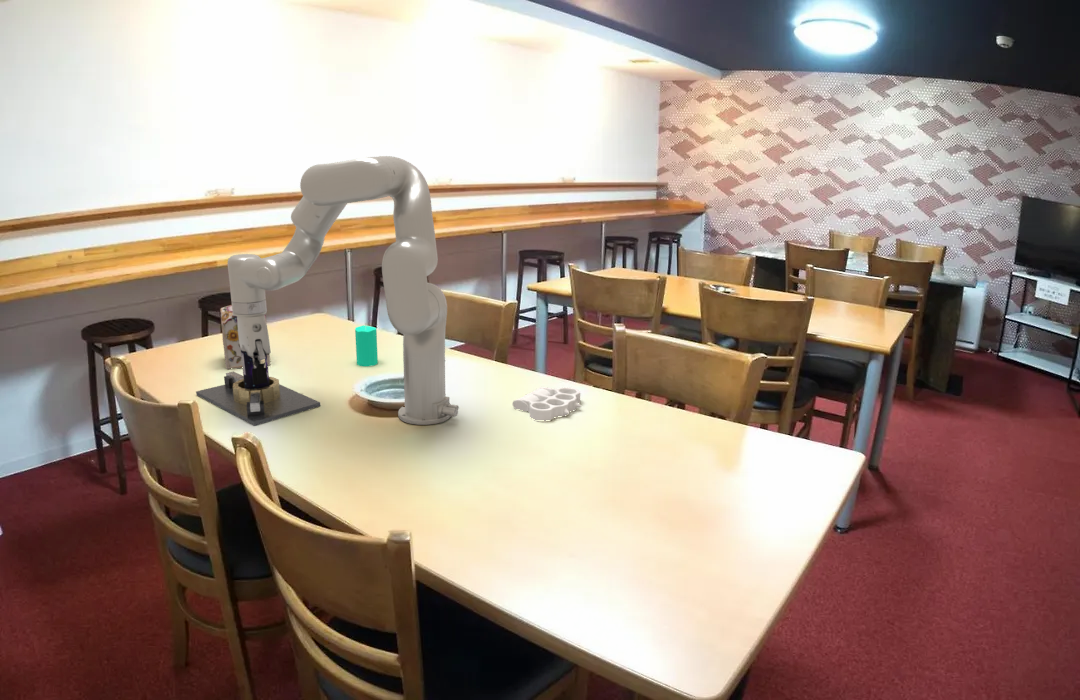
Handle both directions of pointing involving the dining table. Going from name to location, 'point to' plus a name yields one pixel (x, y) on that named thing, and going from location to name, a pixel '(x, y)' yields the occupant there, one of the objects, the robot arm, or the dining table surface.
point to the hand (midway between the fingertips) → (256, 379)
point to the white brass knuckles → (549, 402)
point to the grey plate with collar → (257, 400)
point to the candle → (366, 345)
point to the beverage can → (248, 370)
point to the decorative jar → (232, 339)
